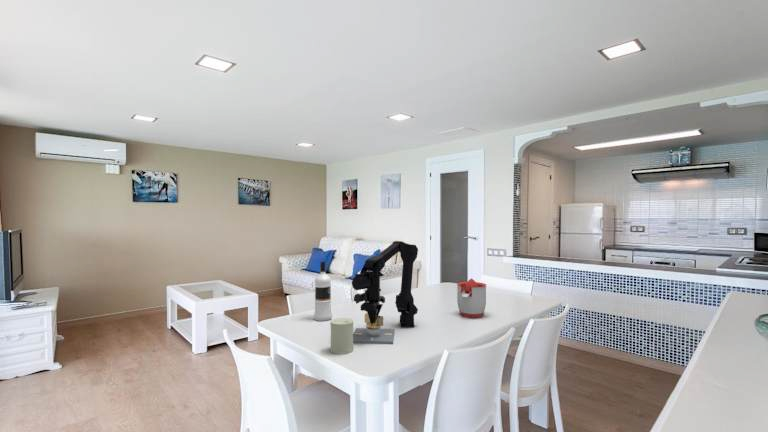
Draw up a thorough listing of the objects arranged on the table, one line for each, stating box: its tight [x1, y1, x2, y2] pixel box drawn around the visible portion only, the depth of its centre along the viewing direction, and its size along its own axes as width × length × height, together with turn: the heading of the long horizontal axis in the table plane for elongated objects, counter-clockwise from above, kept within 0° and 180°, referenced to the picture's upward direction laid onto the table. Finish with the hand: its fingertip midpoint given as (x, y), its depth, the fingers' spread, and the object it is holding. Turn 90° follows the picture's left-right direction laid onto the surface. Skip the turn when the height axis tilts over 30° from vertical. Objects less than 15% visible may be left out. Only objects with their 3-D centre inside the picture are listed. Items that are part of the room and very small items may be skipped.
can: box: [329, 317, 354, 355], centre depth 147 cm, size 9×9×12 cm
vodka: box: [313, 260, 333, 322], centre depth 192 cm, size 9×9×30 cm
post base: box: [353, 327, 396, 345], centre depth 163 cm, size 18×18×4 cm
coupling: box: [364, 312, 384, 329], centre depth 163 cm, size 6×9×5 cm
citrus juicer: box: [456, 277, 487, 319], centre depth 198 cm, size 16×17×20 cm
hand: (373, 322), depth 163 cm, fingers closed on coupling, 4 cm apart
